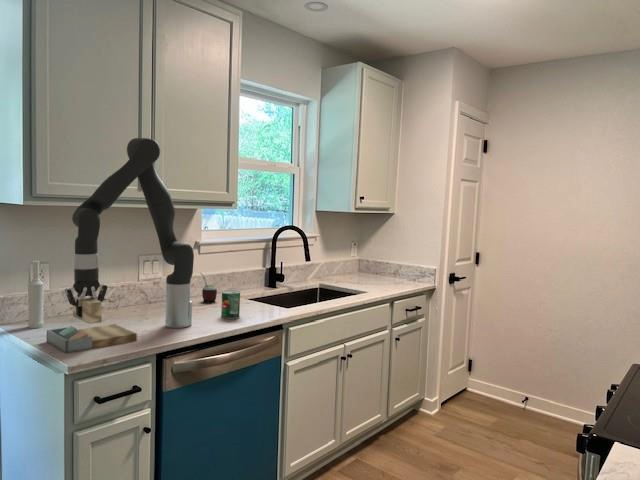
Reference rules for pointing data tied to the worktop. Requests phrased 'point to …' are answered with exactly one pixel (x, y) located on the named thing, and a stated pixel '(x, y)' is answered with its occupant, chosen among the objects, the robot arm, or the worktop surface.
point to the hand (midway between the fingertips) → (86, 315)
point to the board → (109, 335)
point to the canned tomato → (230, 304)
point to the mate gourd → (209, 292)
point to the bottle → (35, 299)
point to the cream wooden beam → (90, 310)
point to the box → (68, 341)
